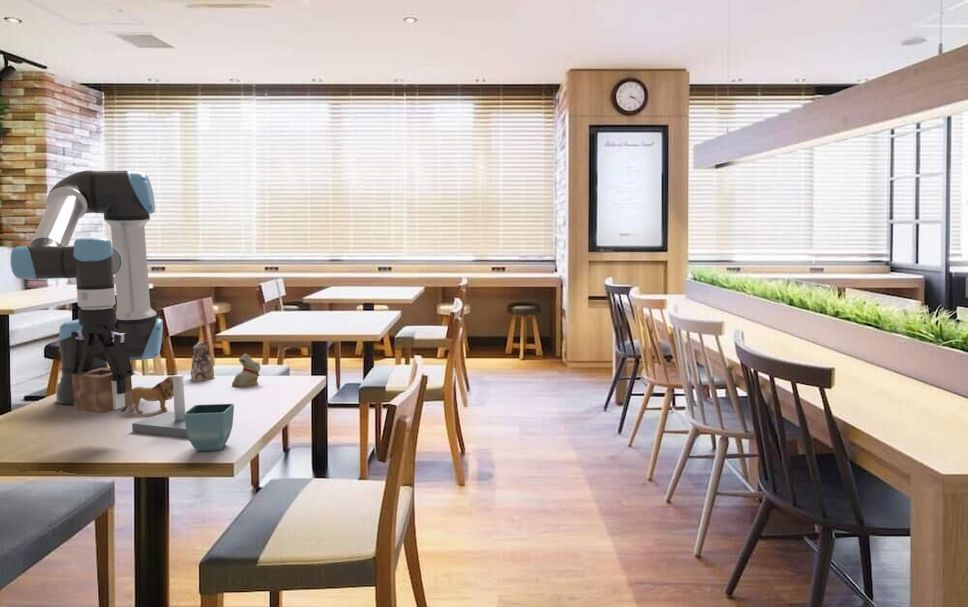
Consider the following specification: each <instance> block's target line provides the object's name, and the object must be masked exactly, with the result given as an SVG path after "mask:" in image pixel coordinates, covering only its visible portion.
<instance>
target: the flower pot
mask: <svg viewBox="0 0 968 607" xmlns="http://www.w3.org/2000/svg"><path fill="white" fill-rule="evenodd" d="M234 410H235V404H234V403H216V404H215V403H212V404H210V403H209V404H194V405H193V406H192V407H191V408H189V409H187V411H186V410H185V413H184V414H183V416H184V421H185V427H186V432H187V436H188V437H187V438H188V440H189V443H190V444H191V446H193V448H194V450H195V451H197V452H201V451H220V450H221V449H222V448H223V447H224V446H225V445H226V444H227V442H228V440H229V438H230V436H231V433H232V429H233V423H234Z"/></svg>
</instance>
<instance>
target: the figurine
mask: <svg viewBox="0 0 968 607" xmlns="http://www.w3.org/2000/svg"><path fill="white" fill-rule="evenodd" d="M207 343H208V341H207V340H204V341H199V342H197V343H195V344H194V345H193V347H192V349H193V354H192V356H191V359H192V361H191V370H190V377H191V378H190V379H191V380H192V381H208V380H212V379H213V378H214V377H215V371H214V370H215V369H214V365H213V361H212V358H211V357H210V350H209V348H208V347H207Z"/></svg>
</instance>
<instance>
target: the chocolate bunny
mask: <svg viewBox="0 0 968 607" xmlns="http://www.w3.org/2000/svg"><path fill="white" fill-rule="evenodd" d="M238 361H239V362H240V364H241V365H242V366H243V367H242V371H240V372H238V373H237V374H236V375H235V376H234V379H233V381H232V382H231V386H232V387H239V388H240V387H251V386H256V385H258V384H259V382H258V378H259V376H260V374H259V372H261V371H260V370H261V365H260V363H259V362H258V361H255V360H254V359H252V357H250V355H249V354H247V353H244V354H243V355H242V356H241V357H239V358H238Z"/></svg>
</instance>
